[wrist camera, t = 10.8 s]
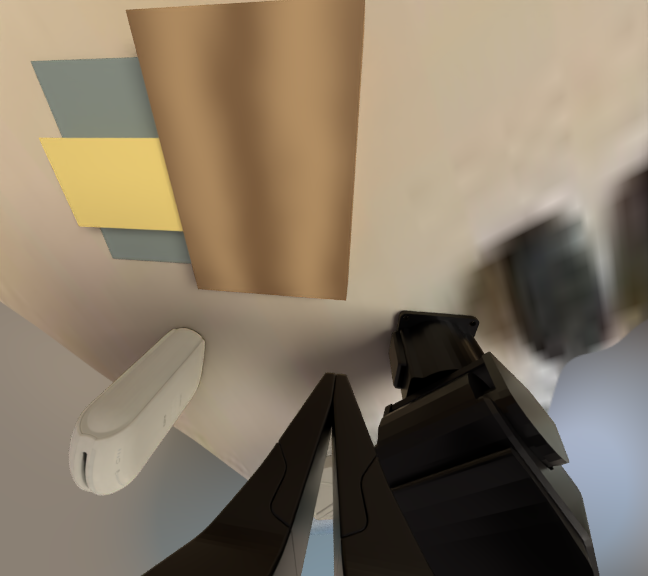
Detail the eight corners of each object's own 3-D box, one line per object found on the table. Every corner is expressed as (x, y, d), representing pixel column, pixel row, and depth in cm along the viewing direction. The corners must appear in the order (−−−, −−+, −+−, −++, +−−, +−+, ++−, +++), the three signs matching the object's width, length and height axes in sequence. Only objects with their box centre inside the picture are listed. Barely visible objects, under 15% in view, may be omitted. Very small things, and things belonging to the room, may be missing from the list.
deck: (364, 27, 14) (365, -5, 11) (347, 282, 21) (346, 300, 18) (167, 36, 15) (125, 10, 12) (217, 273, 22) (198, 288, 20)
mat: (171, 57, 15) (168, 56, 15) (215, 263, 22) (213, 264, 22) (35, 62, 17) (30, 61, 16) (115, 257, 23) (112, 258, 23)
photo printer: (200, 392, 31) (114, 517, 20) (168, 380, 31) (63, 500, 20) (211, 335, 26) (105, 459, 15) (173, 320, 26) (38, 435, 15)
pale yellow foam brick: (180, 140, 17) (159, 137, 16) (199, 225, 20) (184, 231, 18) (69, 140, 18) (38, 137, 17) (102, 220, 21) (79, 226, 19)
